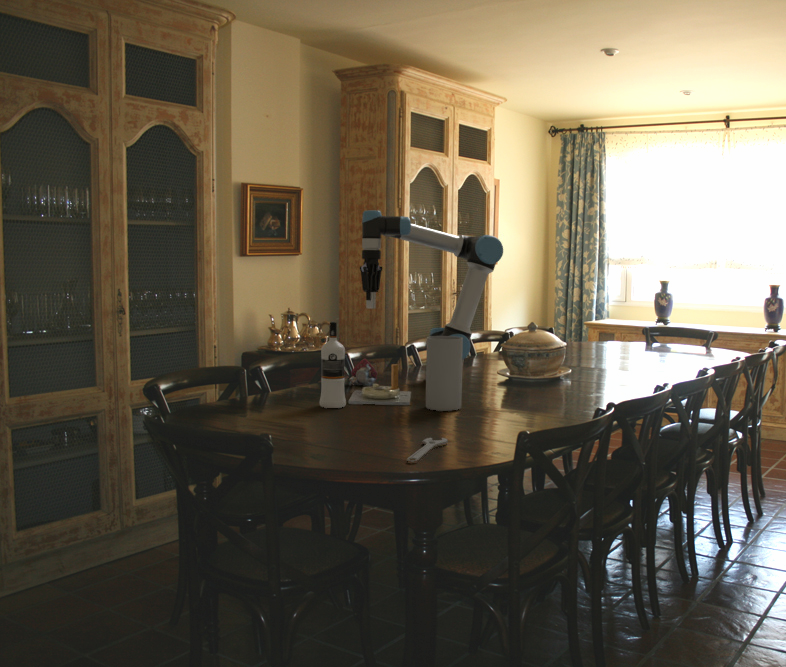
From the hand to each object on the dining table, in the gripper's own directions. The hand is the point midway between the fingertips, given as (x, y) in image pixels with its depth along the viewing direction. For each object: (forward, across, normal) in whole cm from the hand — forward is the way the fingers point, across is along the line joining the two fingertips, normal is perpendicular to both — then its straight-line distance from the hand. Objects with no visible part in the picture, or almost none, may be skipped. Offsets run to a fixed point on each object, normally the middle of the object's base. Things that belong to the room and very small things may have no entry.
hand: (370, 308), depth 296 cm
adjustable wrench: (+33, +76, +69) cm, 108 cm away
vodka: (+33, +40, +12) cm, 53 cm away
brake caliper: (+33, -4, -6) cm, 33 cm away
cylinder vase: (+33, +20, +45) cm, 59 cm away
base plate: (+32, +19, +18) cm, 41 cm away
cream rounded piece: (+31, +19, +18) cm, 40 cm away
